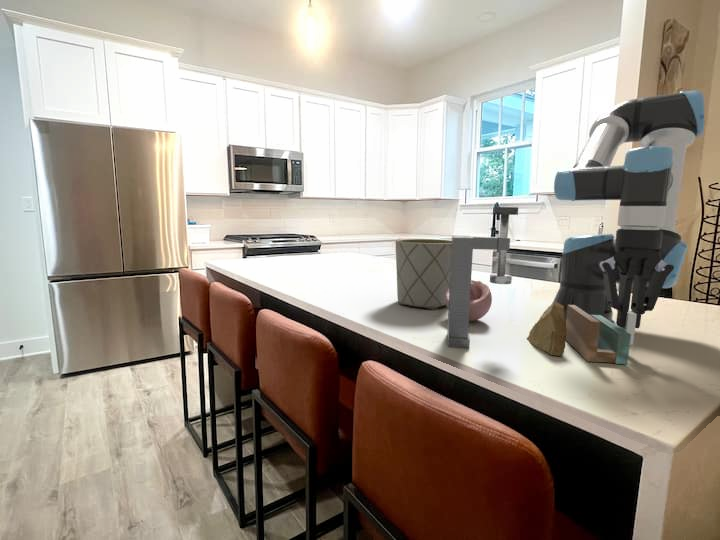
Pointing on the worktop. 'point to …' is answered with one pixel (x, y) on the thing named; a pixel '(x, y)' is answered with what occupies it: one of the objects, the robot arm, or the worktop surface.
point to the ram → (500, 276)
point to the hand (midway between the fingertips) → (625, 342)
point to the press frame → (465, 284)
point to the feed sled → (596, 337)
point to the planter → (423, 271)
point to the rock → (550, 330)
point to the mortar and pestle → (476, 300)
